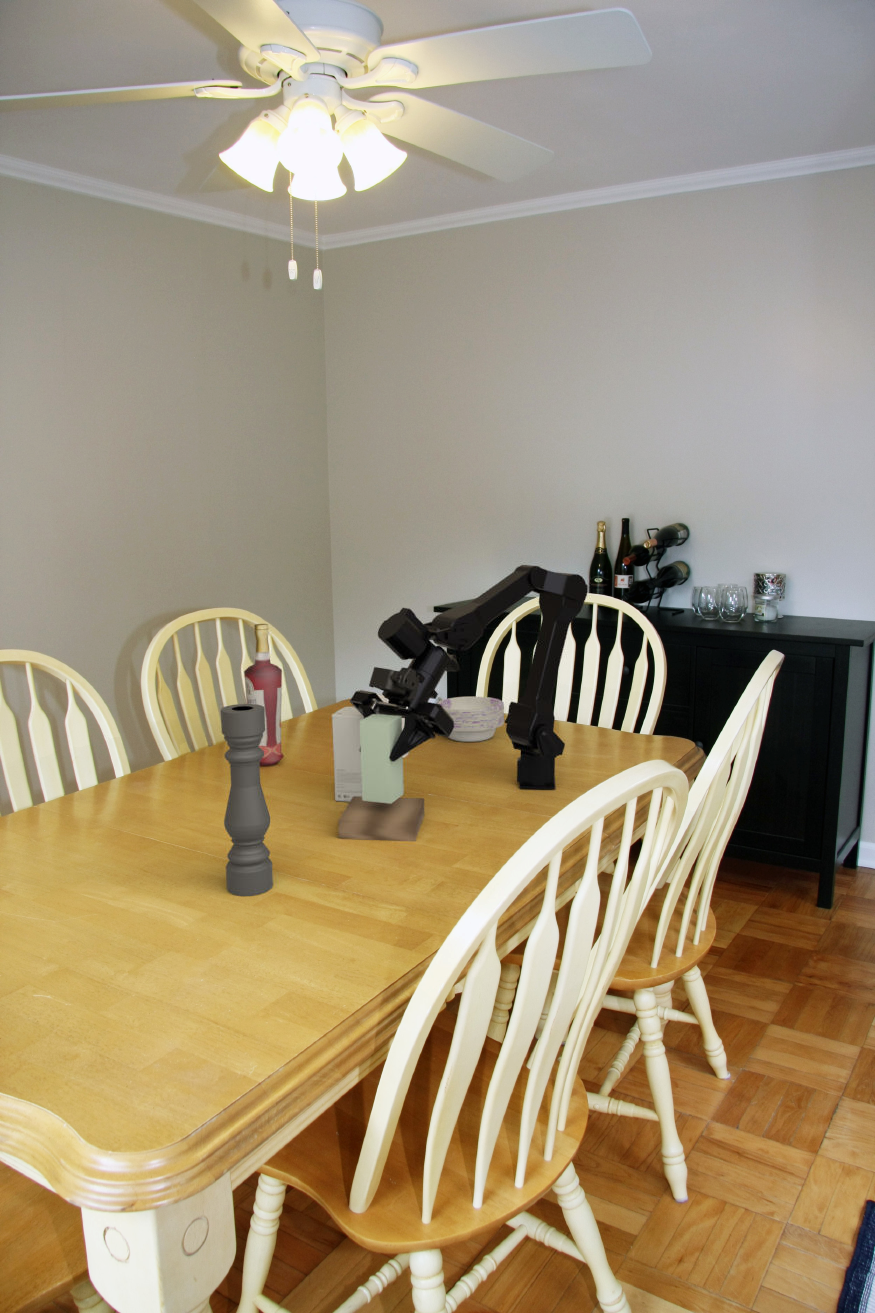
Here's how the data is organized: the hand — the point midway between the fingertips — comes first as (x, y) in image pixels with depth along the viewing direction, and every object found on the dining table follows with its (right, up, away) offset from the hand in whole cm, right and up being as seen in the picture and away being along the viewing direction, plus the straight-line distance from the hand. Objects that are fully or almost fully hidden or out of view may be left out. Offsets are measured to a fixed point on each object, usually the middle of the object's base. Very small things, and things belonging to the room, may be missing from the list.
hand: (376, 756), depth 151 cm
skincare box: (-5, -9, +19) cm, 22 cm away
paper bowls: (+17, -2, +60) cm, 62 cm away
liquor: (-25, -6, +40) cm, 47 cm away
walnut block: (+1, -12, +3) cm, 12 cm away
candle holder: (-16, -16, -20) cm, 30 cm away
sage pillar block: (+1, -7, +2) cm, 7 cm away
